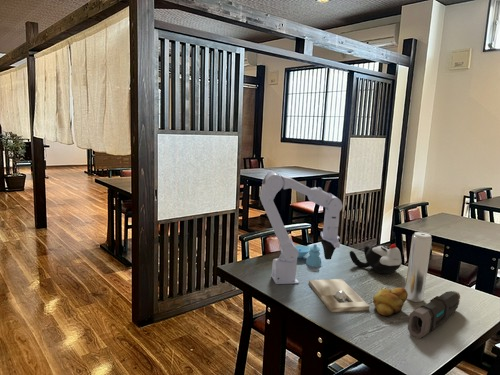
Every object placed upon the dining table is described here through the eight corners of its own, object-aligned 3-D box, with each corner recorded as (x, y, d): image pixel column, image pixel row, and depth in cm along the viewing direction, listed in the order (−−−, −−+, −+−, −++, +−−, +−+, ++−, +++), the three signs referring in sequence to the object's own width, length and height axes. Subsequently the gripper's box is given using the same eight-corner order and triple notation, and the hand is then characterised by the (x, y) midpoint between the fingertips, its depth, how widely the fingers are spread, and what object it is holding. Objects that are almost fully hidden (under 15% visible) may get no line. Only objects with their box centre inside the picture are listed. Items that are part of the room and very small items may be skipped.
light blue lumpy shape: (283, 255, 172) (284, 237, 170) (299, 252, 178) (300, 234, 177) (310, 268, 158) (312, 249, 156) (326, 264, 164) (328, 245, 162)
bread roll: (390, 322, 117) (394, 299, 116) (363, 310, 124) (366, 288, 123) (407, 309, 126) (410, 288, 124) (381, 299, 133) (384, 278, 131)
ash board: (330, 312, 121) (331, 307, 121) (308, 283, 142) (309, 280, 142) (368, 310, 124) (369, 306, 124) (341, 282, 145) (341, 279, 145)
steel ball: (335, 293, 127) (331, 294, 130) (341, 303, 126) (337, 304, 129) (344, 287, 128) (339, 289, 132) (350, 298, 127) (345, 299, 131)
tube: (465, 322, 125) (428, 342, 105) (445, 318, 130) (406, 337, 110) (463, 290, 126) (426, 304, 106) (443, 287, 131) (404, 300, 111)
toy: (396, 255, 145) (356, 230, 158) (381, 288, 151) (344, 261, 164) (414, 248, 155) (375, 225, 168) (400, 279, 161) (363, 254, 174)
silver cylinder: (408, 292, 139) (416, 230, 135) (425, 298, 135) (435, 234, 130) (401, 297, 135) (409, 233, 130) (419, 304, 130) (428, 238, 126)
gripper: (348, 231, 136) (345, 265, 138) (333, 221, 150) (330, 252, 152) (330, 231, 134) (327, 266, 137) (317, 221, 148) (314, 252, 151)
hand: (327, 258), depth 144 cm, fingers closed
